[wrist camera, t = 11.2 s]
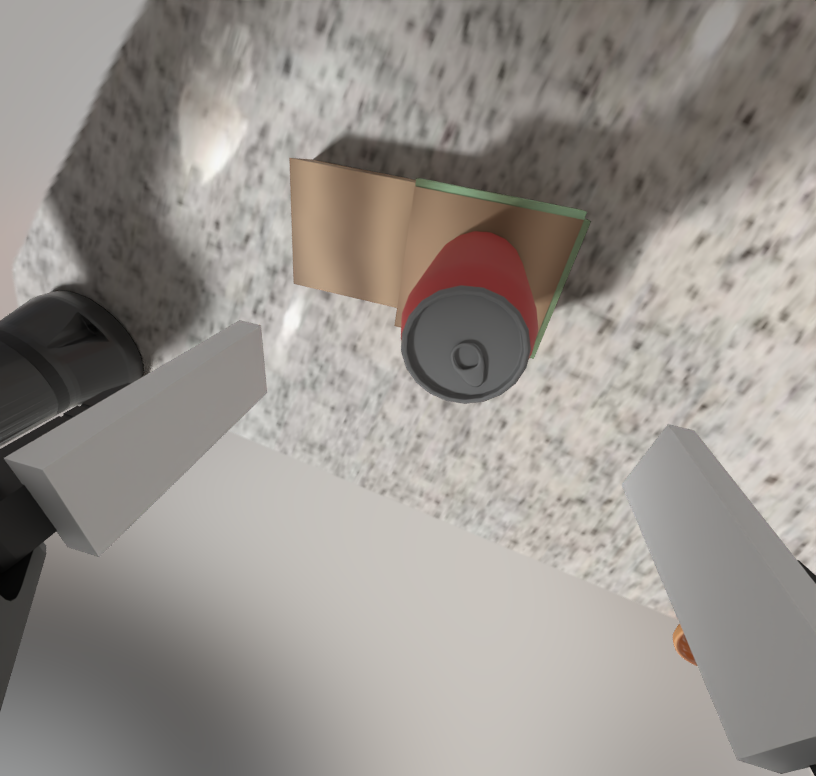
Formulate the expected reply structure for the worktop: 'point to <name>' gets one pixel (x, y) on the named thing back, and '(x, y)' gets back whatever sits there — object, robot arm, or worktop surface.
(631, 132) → the worktop surface
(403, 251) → the step stand
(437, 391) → the beer can
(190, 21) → the worktop surface
